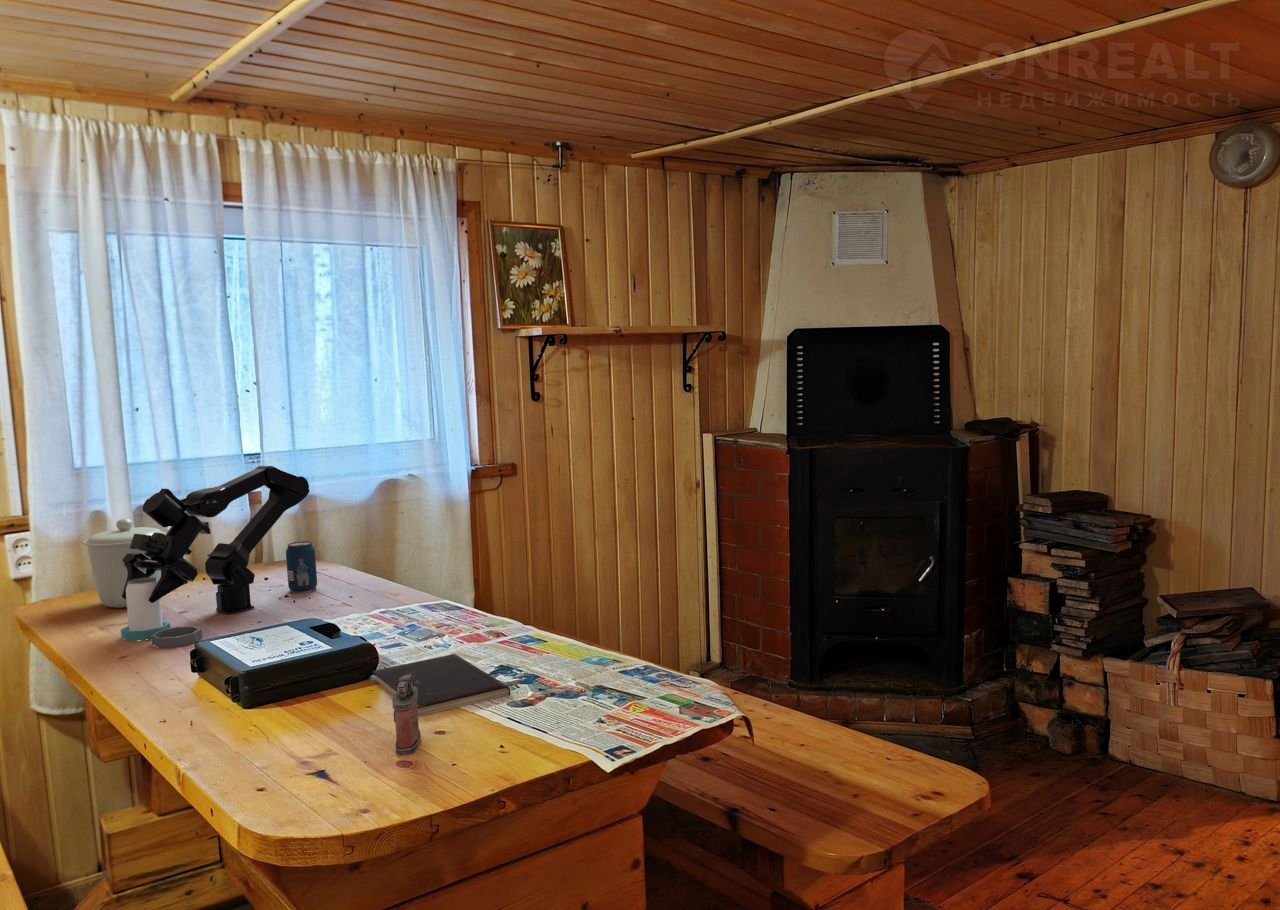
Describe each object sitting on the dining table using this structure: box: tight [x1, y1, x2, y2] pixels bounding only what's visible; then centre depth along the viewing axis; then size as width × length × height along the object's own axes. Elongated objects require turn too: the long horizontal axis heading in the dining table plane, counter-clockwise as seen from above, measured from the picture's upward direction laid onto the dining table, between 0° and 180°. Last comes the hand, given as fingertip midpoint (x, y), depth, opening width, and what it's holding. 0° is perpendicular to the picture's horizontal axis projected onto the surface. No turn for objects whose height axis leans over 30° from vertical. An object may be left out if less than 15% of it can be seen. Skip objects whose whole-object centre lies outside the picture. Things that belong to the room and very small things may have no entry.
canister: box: [83, 518, 167, 609], centre depth 243 cm, size 18×18×21 cm
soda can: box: [285, 540, 318, 594], centre depth 250 cm, size 7×7×12 cm
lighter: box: [392, 675, 422, 757], centre depth 145 cm, size 8×3×10 cm, turn 5°
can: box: [126, 577, 163, 631], centre depth 213 cm, size 6×6×12 cm
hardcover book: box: [372, 653, 511, 717], centre depth 170 cm, size 16×23×2 cm
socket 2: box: [151, 625, 203, 649], centre depth 207 cm, size 9×9×2 cm
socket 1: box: [120, 619, 171, 642], centre depth 213 cm, size 9×9×2 cm
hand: (136, 600), depth 211 cm, fingers open, 9 cm apart
